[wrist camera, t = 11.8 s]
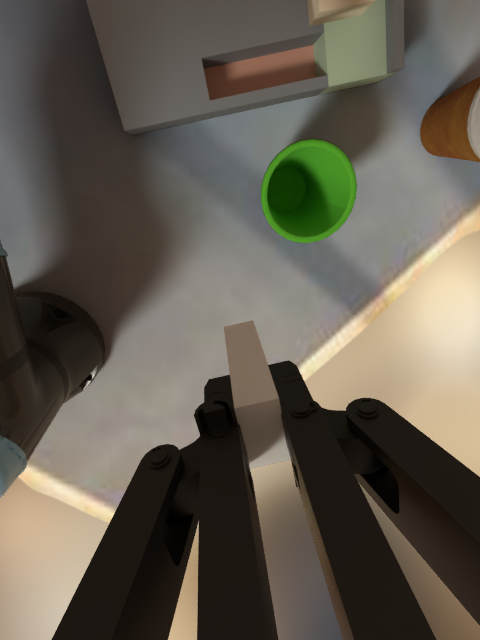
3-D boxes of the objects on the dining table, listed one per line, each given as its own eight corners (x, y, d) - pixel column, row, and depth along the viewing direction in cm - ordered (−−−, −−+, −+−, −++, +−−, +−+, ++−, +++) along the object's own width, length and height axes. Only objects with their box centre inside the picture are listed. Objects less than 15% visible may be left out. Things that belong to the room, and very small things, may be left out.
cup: (263, 135, 39) (283, 121, 29) (333, 165, 41) (374, 161, 31) (237, 213, 42) (247, 225, 32) (303, 237, 44) (332, 255, 34)
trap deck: (132, 135, 38) (120, 129, 33) (80, -43, 32) (57, -84, 27) (378, 82, 38) (404, 67, 33) (372, -105, 32) (403, -157, 27)
